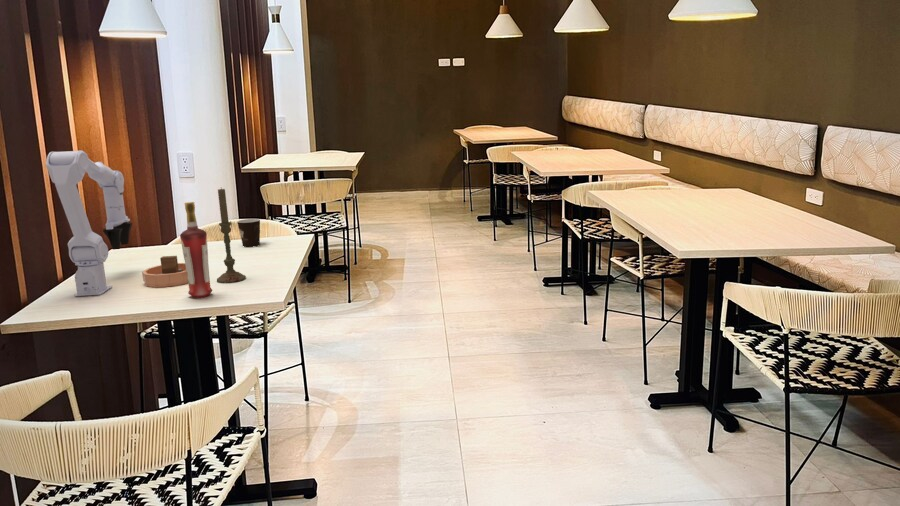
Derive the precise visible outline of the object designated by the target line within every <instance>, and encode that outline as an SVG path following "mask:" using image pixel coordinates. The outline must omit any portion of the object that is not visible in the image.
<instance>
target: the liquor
mask: <svg viewBox="0 0 900 506" xmlns="http://www.w3.org/2000/svg"><path fill="white" fill-rule="evenodd" d="M184 209H185V211H186V212H185V213H186V230H183V231H182V232H181V233H180V234H179V236H180V237H179V238H180V242H181V243H180V245H181V248H182V254H183V260H184V263H185V265H186V271H187V277H188V283H187V284H188V289H189V290H188V293H187V294H188V295H189V296H191V298H193V299H201V298H205V297H209V295H210V294H211V293H212V292H213V289H212V288H211V280H210V267H209V252H208V251H209V249H208V240H207V239H208V236H207V232H206V231H205V230H203V229H201V228H199V227H198V226H199V225H198V221H197V217H196V214H195V212H196V206H195V202H194V201H188V202H185V203H184Z"/></svg>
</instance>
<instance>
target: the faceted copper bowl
mask: <svg viewBox="0 0 900 506" xmlns="http://www.w3.org/2000/svg"><path fill="white" fill-rule="evenodd" d="M178 269H179V272H177V273H164V274H162V267H161V264H159V265H156V266H152V267H148V268H146V269H144V270H143V271H141V272H142V281H143V282H144V285H145V286H146V287H148V288H169V287H170V288H171V287H178V286H182V285H186V284H188V277H187V271H186V265H185V262H178Z"/></svg>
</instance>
